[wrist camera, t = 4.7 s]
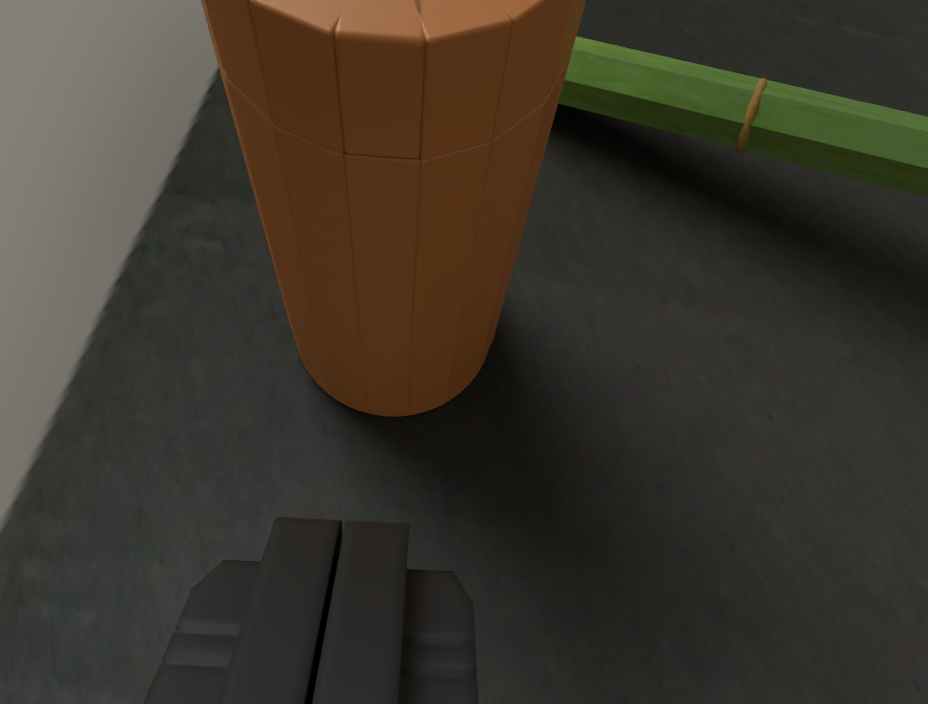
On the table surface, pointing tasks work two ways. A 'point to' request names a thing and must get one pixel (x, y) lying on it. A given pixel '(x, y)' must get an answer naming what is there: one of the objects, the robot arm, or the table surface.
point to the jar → (393, 174)
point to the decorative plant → (750, 114)
